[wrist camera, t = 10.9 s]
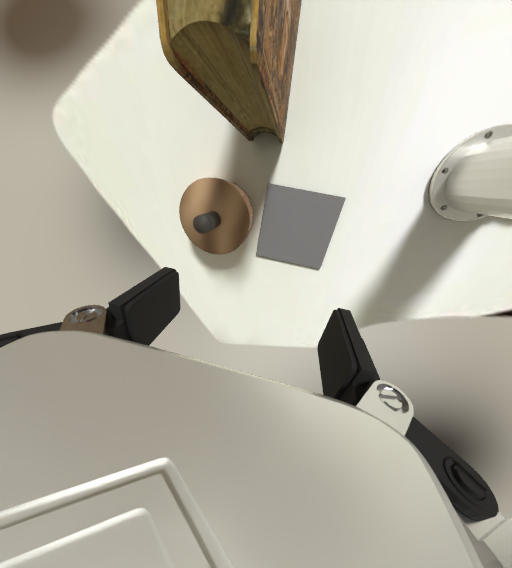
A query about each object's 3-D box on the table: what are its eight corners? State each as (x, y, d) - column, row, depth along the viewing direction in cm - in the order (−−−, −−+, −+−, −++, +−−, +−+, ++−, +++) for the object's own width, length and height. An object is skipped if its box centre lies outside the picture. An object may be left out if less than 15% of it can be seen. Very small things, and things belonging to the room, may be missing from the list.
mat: (344, 197, 34) (345, 198, 33) (319, 268, 41) (319, 269, 40) (268, 183, 35) (268, 183, 34) (256, 254, 42) (256, 254, 41)
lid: (255, 185, 31) (247, 185, 26) (245, 258, 37) (237, 271, 32) (181, 171, 32) (158, 169, 27) (184, 245, 38) (165, 255, 33)
